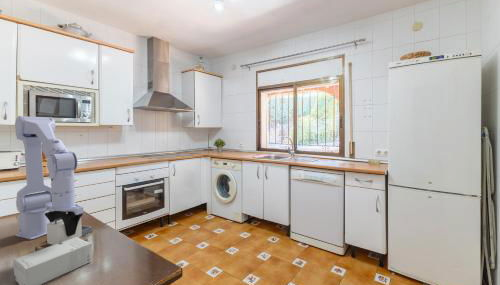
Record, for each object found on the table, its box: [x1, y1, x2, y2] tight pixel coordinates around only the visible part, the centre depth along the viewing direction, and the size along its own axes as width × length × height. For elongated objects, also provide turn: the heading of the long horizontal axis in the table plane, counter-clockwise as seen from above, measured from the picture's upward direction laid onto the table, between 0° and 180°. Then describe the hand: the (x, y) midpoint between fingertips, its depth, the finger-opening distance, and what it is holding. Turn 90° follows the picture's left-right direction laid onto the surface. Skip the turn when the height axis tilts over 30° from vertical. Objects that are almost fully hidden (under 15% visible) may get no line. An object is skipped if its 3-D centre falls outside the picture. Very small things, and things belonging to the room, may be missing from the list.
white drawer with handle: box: [46, 217, 83, 245], centre depth 74 cm, size 5×7×7 cm
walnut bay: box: [34, 237, 89, 252], centre depth 75 cm, size 10×9×3 cm
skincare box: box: [12, 237, 93, 285], centre depth 65 cm, size 8×6×15 cm
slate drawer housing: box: [80, 224, 93, 238], centre depth 87 cm, size 8×10×2 cm
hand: (64, 233), depth 74 cm, fingers closed on white drawer with handle, 5 cm apart
